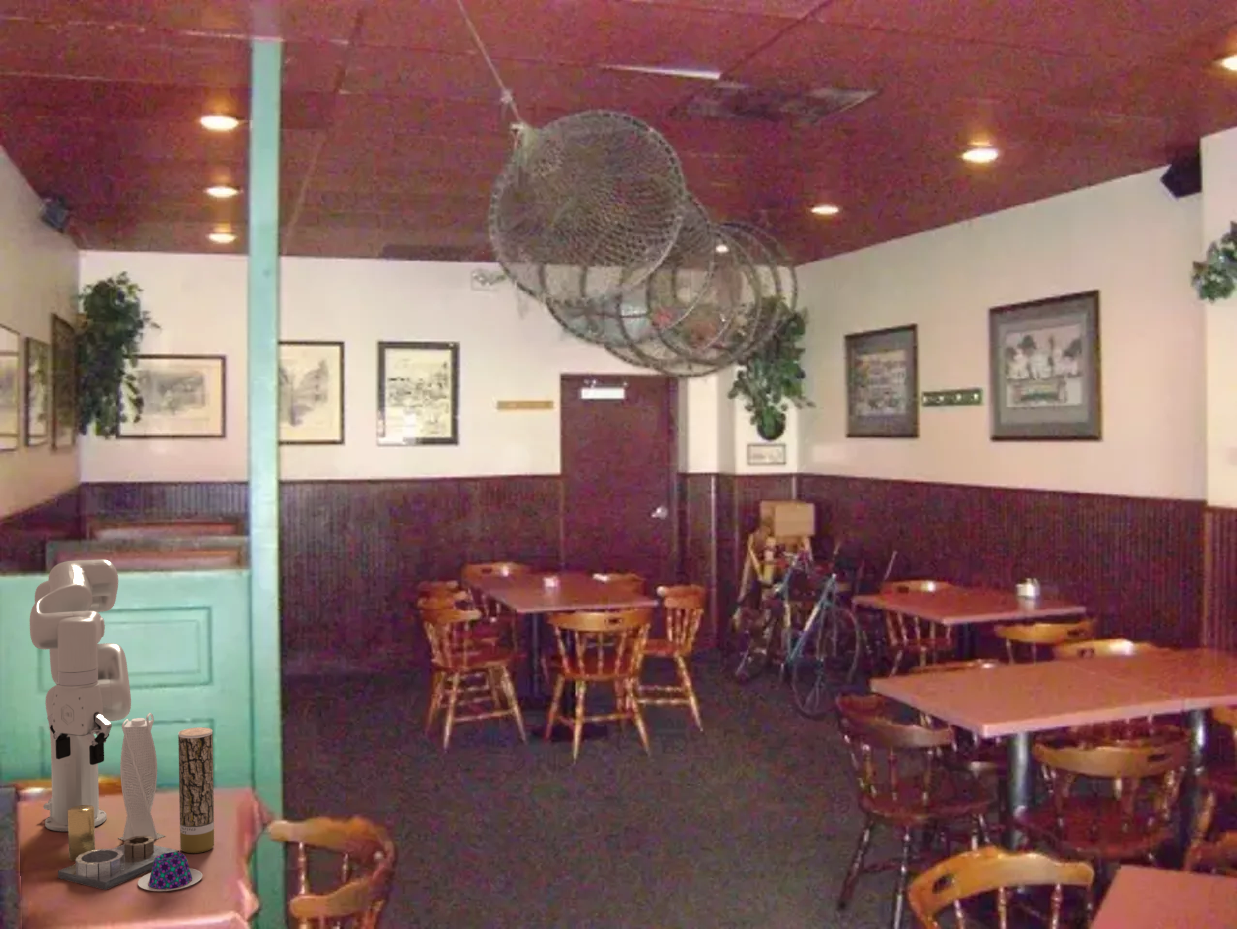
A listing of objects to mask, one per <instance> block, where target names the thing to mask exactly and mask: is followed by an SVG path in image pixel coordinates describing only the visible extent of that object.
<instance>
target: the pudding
mask: <svg viewBox="0 0 1237 929" xmlns="http://www.w3.org/2000/svg"><path fill="white" fill-rule="evenodd" d="M150 871H151V872H149V873H147V874H144V875H143V876H142V877H140V878H139V879H138V880H137V885H138V886H139V888H141V889H144V890H147V891H152V892H167V891H168V892H169V891H177V890H180V889H184V888H188V887H191V886H193V885H195V884H197V883H199V881H200V880H201V879H202V878H203V873H202V872H201V871H200V870H198V869H195V868H190V865H189V863H188V859H187V856H186V854H184V853H182V852H180V851H179V852H178V853H176V852H170V853H164V854H161V855H160V856H157V857H156V858H155V860H154V862H153V867H152V870H150Z"/></svg>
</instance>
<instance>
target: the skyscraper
mask: <svg viewBox="0 0 1237 929" xmlns="http://www.w3.org/2000/svg"><path fill="white" fill-rule="evenodd" d="M149 717H150V719H151V720H149ZM154 721H155V718H154V715H153V714H152V712H149V713H148V714H147V715H146V717H145V718H144V717H137V718H136V717H135V718H132V719H131V720H129V718H126V719H125V720H124V721H123V722H122V724H121V729H122V732H123V739H122V743H121V744H122V745H121V746H122V747H121V752H120V762H119V763H120V764H119V766H120V767H119V768H120V769H119V771H120V774H119V775H120V785H121V792H122V799H123V803H124V808H125V811H126V812H125V813H126V820H125V824H124V828H123V829H124V830H123V832H122V836H120V837H117V839H118V840H119V839H121V840H120V841H122V840H123V842H125V840H126V839H129V838H131V837H135V836H151V837H154V841H156V840H159V838H160V839H163V838H165V836H166V835H164V834H162V833H159V832H157V829H156V826H155V823H154V820H153V816H152V813H151V812H152V807H153V805H154V800H155V796H156V788H157V780H158V759H157V752H156V747H155V743H154V740H153V739H154V738H153V735H152V729H153V725H154V723H155V722H154ZM162 837H163V838H162Z"/></svg>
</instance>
